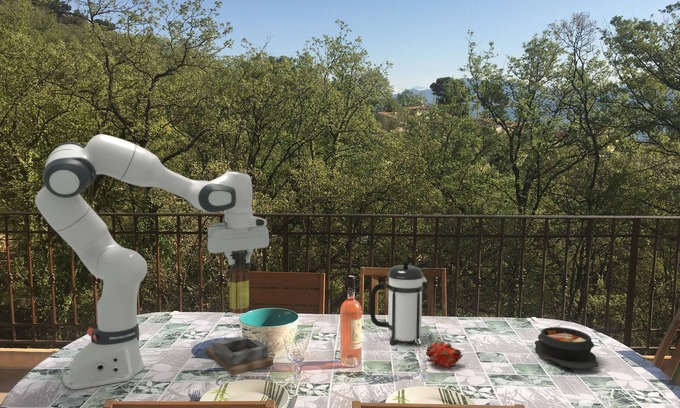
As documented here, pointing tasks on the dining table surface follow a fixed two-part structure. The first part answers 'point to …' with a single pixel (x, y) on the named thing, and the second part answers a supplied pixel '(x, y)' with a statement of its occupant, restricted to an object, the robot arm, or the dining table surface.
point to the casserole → (566, 347)
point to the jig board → (241, 367)
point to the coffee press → (402, 303)
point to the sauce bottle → (239, 284)
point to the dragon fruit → (443, 354)
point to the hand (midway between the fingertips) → (239, 263)
